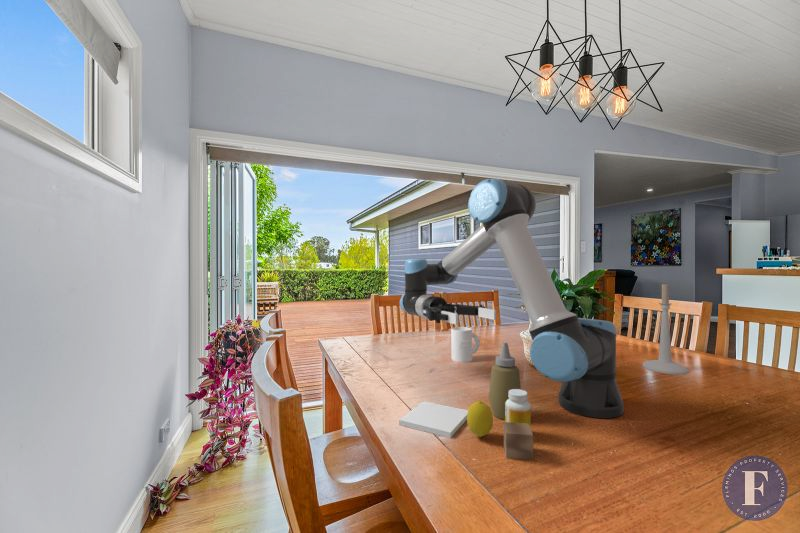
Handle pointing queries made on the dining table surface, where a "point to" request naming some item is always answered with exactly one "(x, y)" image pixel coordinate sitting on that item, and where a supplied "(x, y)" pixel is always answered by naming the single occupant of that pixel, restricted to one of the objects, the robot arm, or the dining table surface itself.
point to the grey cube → (518, 441)
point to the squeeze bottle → (503, 381)
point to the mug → (463, 344)
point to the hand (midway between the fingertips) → (476, 317)
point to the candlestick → (665, 343)
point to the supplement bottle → (518, 407)
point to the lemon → (479, 418)
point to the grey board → (435, 419)
